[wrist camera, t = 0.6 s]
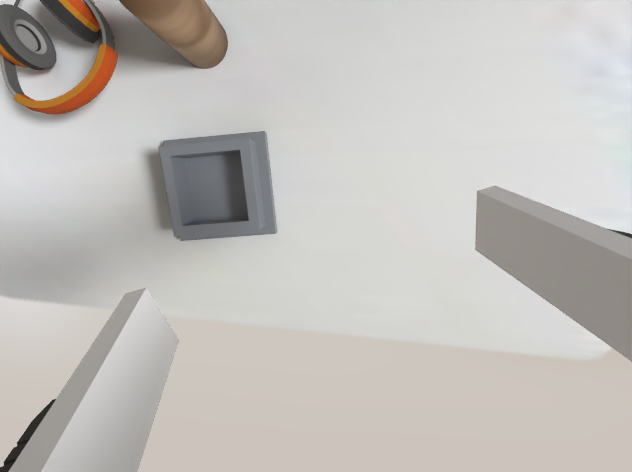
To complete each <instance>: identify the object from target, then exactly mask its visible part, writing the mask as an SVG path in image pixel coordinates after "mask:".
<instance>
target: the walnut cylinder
mask: <svg viewBox="0 0 632 472" xmlns="http://www.w3.org/2000/svg"><path fill="white" fill-rule="evenodd" d="M119 1H120V2H121V3H122V4H123V6H124V7H125V8H127V9H128V10H129V11H130V12H131V13H132V14H134V15H135V16H136V17H137V18H138V19H139V20H141V21H142V22H143V23H144V24H145V25H146V26H148V27H149V28H150V29H151V30H152V31H154V32H155V33H156V34H157V35H158V36H159V37H161V38H162V39H163V40H164V41H165V42H166V43H168V44H169V45H170V46H171V47H172V48H173V49H175V50H176V51H177V52H178V53H179V54H181V55H182V56H183V57H184V58H185V59H186V60H188V61H189V62H190V63H191V64H193V65H194V66H196V67H199V68H204V69H206V68H212V67H214V66H216V65H218V64H219V63H220V62H221V61H222V60H223V58H224V57H225V54H226V51H227V47H228V41H227V35H226V32H225V30H224V28H223V27H222V25H221V24H220V22H219V21H218V19H217V18H216V16H215V15H214V14H213V12H212V11H211V9H210V8H209V6H208V5H207V3H206V2H205V0H119Z"/></svg>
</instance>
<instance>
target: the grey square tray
mask: <svg viewBox="0 0 632 472" xmlns="http://www.w3.org/2000/svg"><path fill="white" fill-rule="evenodd" d="M158 147H159V152H160V158H161V164H162V170H163V175H164V181H165V187H166V193H167V198H168V204H169V210H170V215H171V221H172V227H173V233H174V236H180V240H181V241H184V240H197V239H210V238H224V237H237V236H250V235H263V234H276V233H277V225H276V216H275V207H274V198H273V189H272V179H271V170H270V161H269V152H268V143H267V134H266V132H265V131H262V132H251V133H241V134H230V135H220V136H209V137H198V138H188V139H177V140H167V141H164V146H158Z"/></svg>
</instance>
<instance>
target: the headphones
mask: <svg viewBox="0 0 632 472" xmlns="http://www.w3.org/2000/svg"><path fill="white" fill-rule="evenodd" d="M40 1H41V2H42V4H43V5H44V6H45V7H46V8H47V9H48V10H49V11H50V12H51V13H52V14H53V15H54V16H55V17H56V18H57V19H58V20H59V21H60V22H61V23H62V24H64V25H65V26H66V27H67V28H68V29H70V30H71V31H72V32H73V33H75V34H76V35H77V36H79V37H80V38H82V39H83V40H85V41H88V42H92V43H94V42H95V41H96V40H97V39H98V38H99V35H98V32H97V31H99V30H100V28H101V31H102V37H103V44H101V45H100V46H99V51H98V55H97V58H96V61H95V63H94V65H93V67H92V69H91V70H90V72H89V74H88V75H87V76H86V77H85V79H84V80H83V81H82V82H81V83H80V84H79V85H77V86H76V87H75V88H73V89H72V90H71V91H69V92H67V93H65V94H64V95H62V96H59V97H57V98H54V99H51V100H45V101H35V100H33V99H31V98H29V97H28V96H26V95H25V94H24V93H23V91H22V90H21V87H20V85H19V81H18V77H17V72H16V68H15V64H16V65H19V66H22V67H30V68H32V69H36V70H43V69H48V68H51V67H52V66H54V64H55V62H56V52H55V48H54V45H53V43H52V41H51V39H50V37H49V35H48V34H47V32H46V31H45V30H44V29H43V27H42V26H41V25H40V24H39V23H38V22H37V21H36V20H35V19H34V18H33V17H32V16H31V15H29V14H28V13H27V12H25V11H24V10H22V9H20V8H19V7H17V6H18V4H19V2H20V0H16V2H15V4H14V6H13V5H8V4H3V5H0V61H1V67H2V72H3V76H4V80H5V82H6V85H7V87H8V89H9V90H10V92H11V93H12V94H13V95H14V96H15V97H14V100H16V101H17V102H19V103H20V104H22V105H23V106H25V107H27V108H29V109H31V110H33V111H37V112H41V113H46V114H63V113H67V112H71V111H73V110H76V109H78V108H80V107H82V106H84V105H85V104H87V103H88V102H90V101H91V100H92V99H94V98H95V97H96V96H97V95H98V94H99V93H100V92H101V91H102V90H103V89H104V88H105V86H106V85H107V83H108V82H109V80H110V78H111V76H112V74H113V72H114V69H115V66H116V63H117V58H118V55H117V52H116V51H115V42H114V36H113V33H112V31H111V29H110V27H109V25H108V23H107V21H106V19H105V18H104V16H103V14H102V13H101V12H100V10H99V9H98V8H97V7H96V6H95V5H94V4H95V2H94V1H93V0H40Z"/></svg>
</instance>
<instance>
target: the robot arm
mask: <svg viewBox="0 0 632 472" xmlns="http://www.w3.org/2000/svg"><path fill="white" fill-rule="evenodd" d="M475 250H476V251H478V252H479V253H481V254H482V255H483V256H485V257H486V258H488V259H489V260H490V261H492V262H493V263H495V264H496V265H497V266H499V267H500V268H502V269H503V270H504V271H506V272H507V273H509V274H510V275H511V276H513V277H514V278H516V279H517V280H518V281H520V282H521V283H523V284H524V285H525V286H527V287H528V288H530V289H531V290H532V291H534V292H535V293H537V294H538V295H539V296H541V297H542V298H544V299H545V300H546V301H548V302H549V303H551V304H552V305H553V306H555V307H556V308H558V309H559V310H560V311H562V312H563V313H565V314H566V315H567V316H569V317H570V318H572V319H573V320H574V321H576V322H577V323H579V324H580V325H581V326H583V327H584V328H586V329H587V330H588V331H590V332H591V333H593V334H594V335H595V336H597V337H598V338H600V339H601V340H602V341H604V342H605V343H607V344H608V345H609V346H611V347H612V348H614V349H615V350H616V351H618V352H619V353H621V354H622V355H623V356H625V357H626V358H628V359H629V360H631V361H632V234H629V233H625V232H620V231H615V230H610V229H606V228H603V227H601V226H598V225H595V224H593V223H590V222H588V221H585V220H582V219H580V218H577V217H575V216H572V215H570V214H567V213H564V212H562V211H559V210H557V209H554V208H551V207H549V206H546V205H544V204H541V203H538V202H536V201H533V200H531V199H528V198H525V197H523V196H520V195H518V194H515V193H513V192H510V191H507V190H505V189H502V188H500V187H497V186H493V187H489V188H486V189H482V190H479V191H477V211H476V244H475ZM178 341H179V339H178V337H177V336H176V335H175V333H174V331H173V329H172V328H171V326H170V325H169V323H168V322H167V320H166V318H165V317H164V315H163V314H162V312H161V310H160V309H159V307H158V306H157V304H156V302H155V301H154V299H153V298H152V296H151V294H150V293H149V291H148V290H147V288H143V289H140V290H137V291H133V292H130V293H126V294H125V295H124V297H123V298H122V300H121V301H120V303H119V304H118V306H117V307H116V309H115V311H114V312H113V314H112V315H111V317H110V318H109V320H108V321H107V323H106V324H105V326H104V327H103V329H102V330H101V332H100V333H99V335H98V336H97V338H96V339H95V341H94V342H93V344H92V345H91V347H90V349H89V350H88V352H87V353H86V355H85V356H84V358H83V359H82V361H81V362H80V364H79V365H78V367H77V368H76V370H75V371H74V373H73V374H72V376H71V377H70V379H69V380H68V382H67V384H66V385H65V387H64V388H63V390H62V391H61V393H60V394H59V396H58V397H57V399H54V400H52V401H51V402H50V403H49V404H48V405H47V406H46V407H45V408H44V409H43V410H42V411H41V412H40V413H39V414H38V415H37V417H36V418H35V419H34V420H33V421H32V422H31V423H30V425H29V426H28V428H27V429H26V431H25V432H24V434H23V435H22V437H21V438H20V439H19V441H18V442H17V447H15V448H13V450H12V451H11V453H10V454H9V455H8V457H7V458H6V460H5V461H4V466H3V467H0V472H137V471H138V468H139V465H140V462H141V458H142V455H143V452H144V449H145V446H146V442H147V439H148V436H149V433H150V430H151V427H152V424H153V421H154V417H155V414H156V411H157V407H158V405H159V402H160V398H161V395H162V392H163V389H164V386H165V383H166V379H167V376H168V373H169V370H170V366H171V364H172V360H173V357H174V354H175V351H176V348H177V344H178Z"/></svg>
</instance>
